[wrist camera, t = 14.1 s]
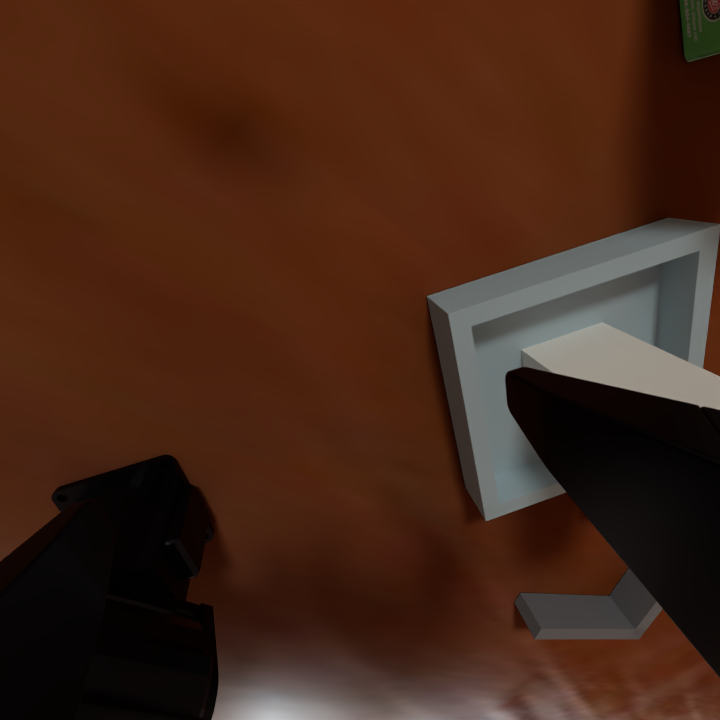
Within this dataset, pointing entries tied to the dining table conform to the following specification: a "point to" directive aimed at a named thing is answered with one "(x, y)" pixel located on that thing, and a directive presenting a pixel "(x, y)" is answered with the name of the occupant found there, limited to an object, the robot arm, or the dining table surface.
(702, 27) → the ink box
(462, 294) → the tray
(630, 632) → the bay
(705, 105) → the dining table surface
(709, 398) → the tall beige block
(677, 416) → the robot arm
